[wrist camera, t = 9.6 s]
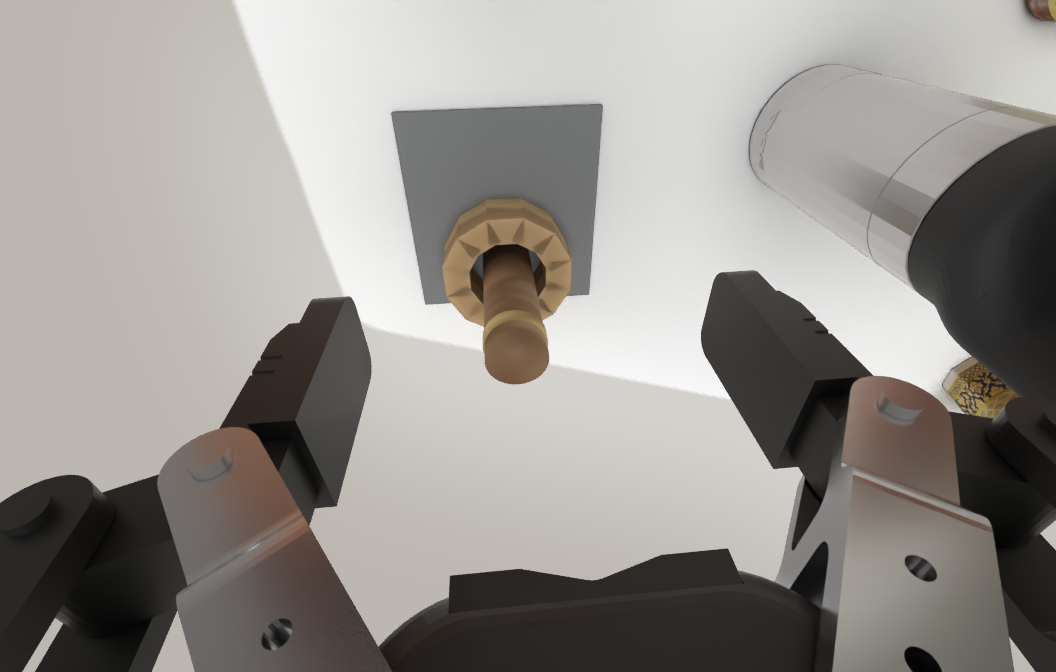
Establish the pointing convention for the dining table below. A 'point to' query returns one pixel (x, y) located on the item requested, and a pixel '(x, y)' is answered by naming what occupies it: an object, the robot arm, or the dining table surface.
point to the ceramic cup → (977, 389)
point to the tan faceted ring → (501, 227)
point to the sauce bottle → (1043, 9)
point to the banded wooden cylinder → (512, 316)
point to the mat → (499, 176)
